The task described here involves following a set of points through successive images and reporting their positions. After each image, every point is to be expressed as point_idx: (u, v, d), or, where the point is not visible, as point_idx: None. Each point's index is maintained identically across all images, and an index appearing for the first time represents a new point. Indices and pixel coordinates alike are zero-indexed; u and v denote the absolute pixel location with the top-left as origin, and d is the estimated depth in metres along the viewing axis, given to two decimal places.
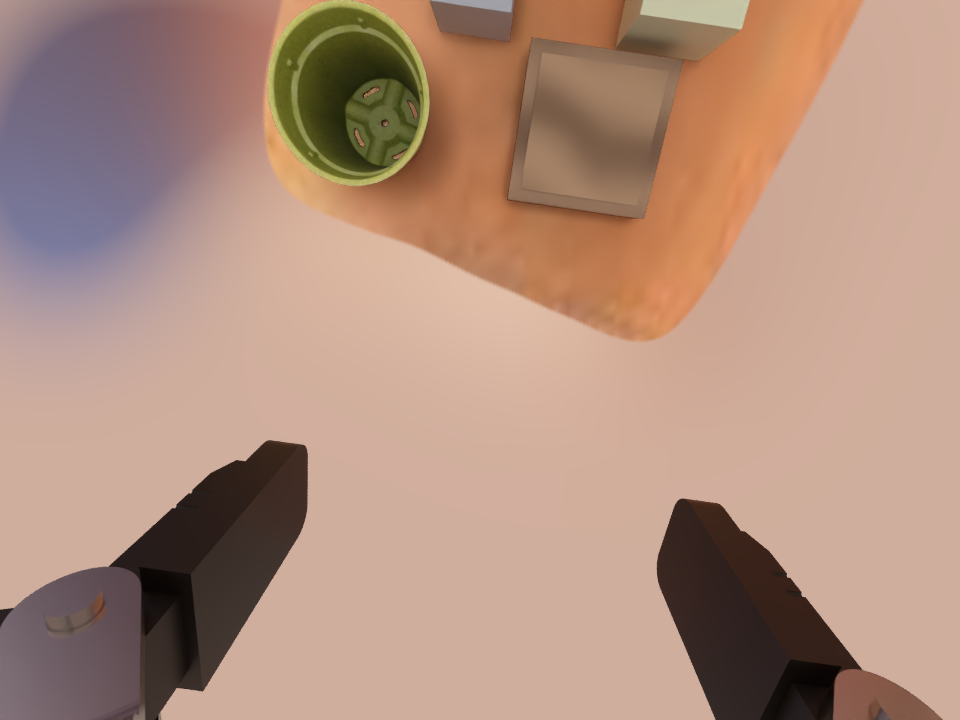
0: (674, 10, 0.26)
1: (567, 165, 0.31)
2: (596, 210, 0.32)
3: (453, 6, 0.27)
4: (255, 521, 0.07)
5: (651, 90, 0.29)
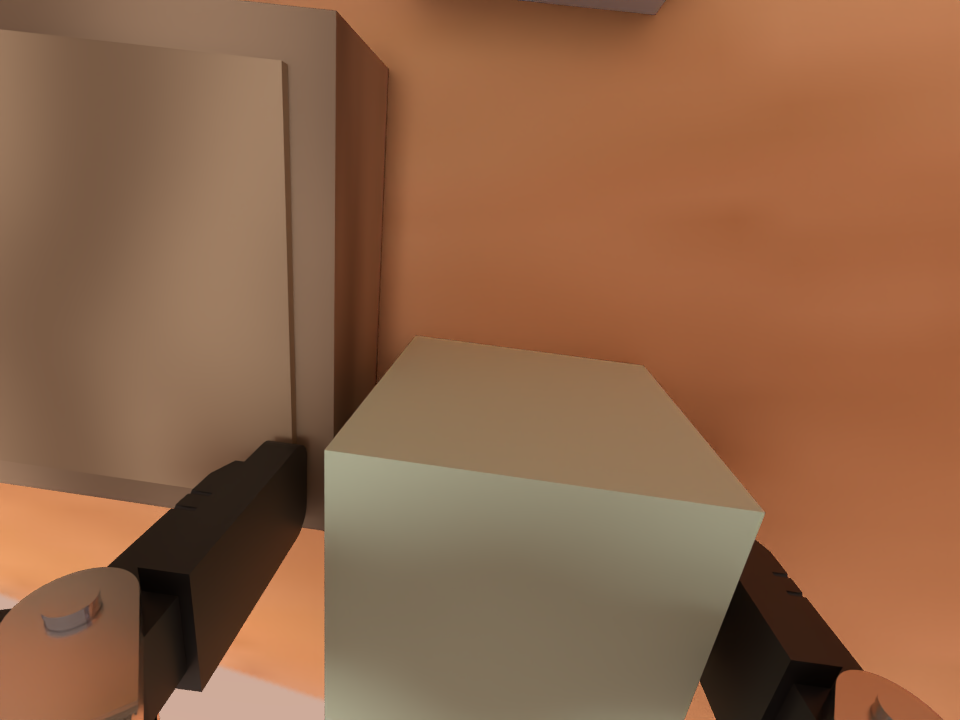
0: (352, 563, 0.07)
1: None
2: None
3: None
4: (254, 521, 0.07)
5: None
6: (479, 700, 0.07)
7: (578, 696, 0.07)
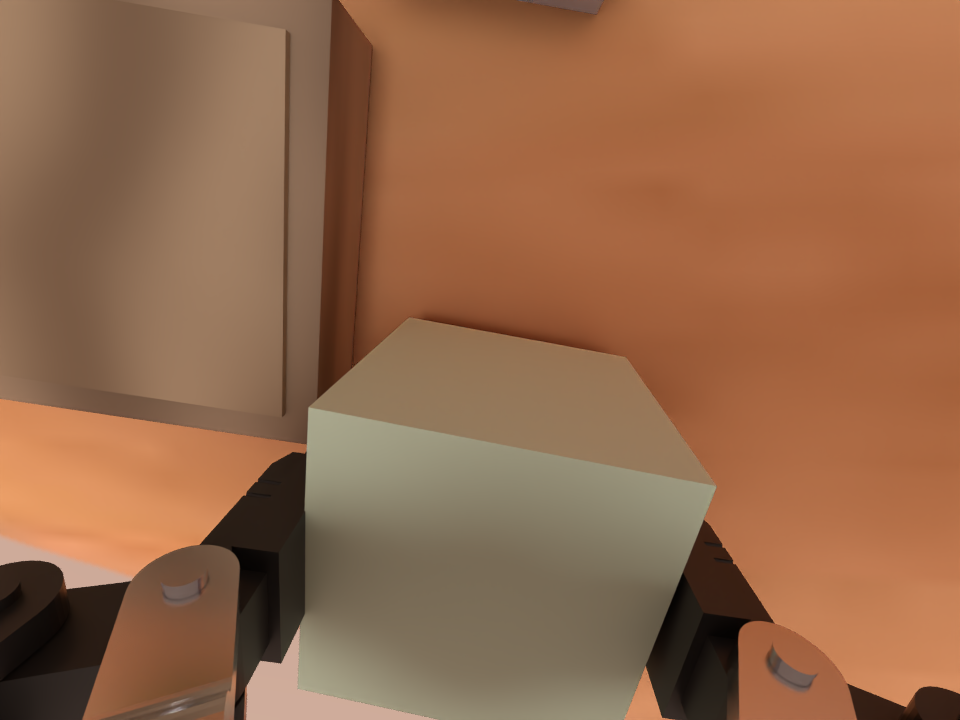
0: (330, 519, 0.07)
1: None
2: None
3: None
4: None
5: (233, 379, 0.11)
6: (444, 657, 0.08)
7: (538, 658, 0.08)
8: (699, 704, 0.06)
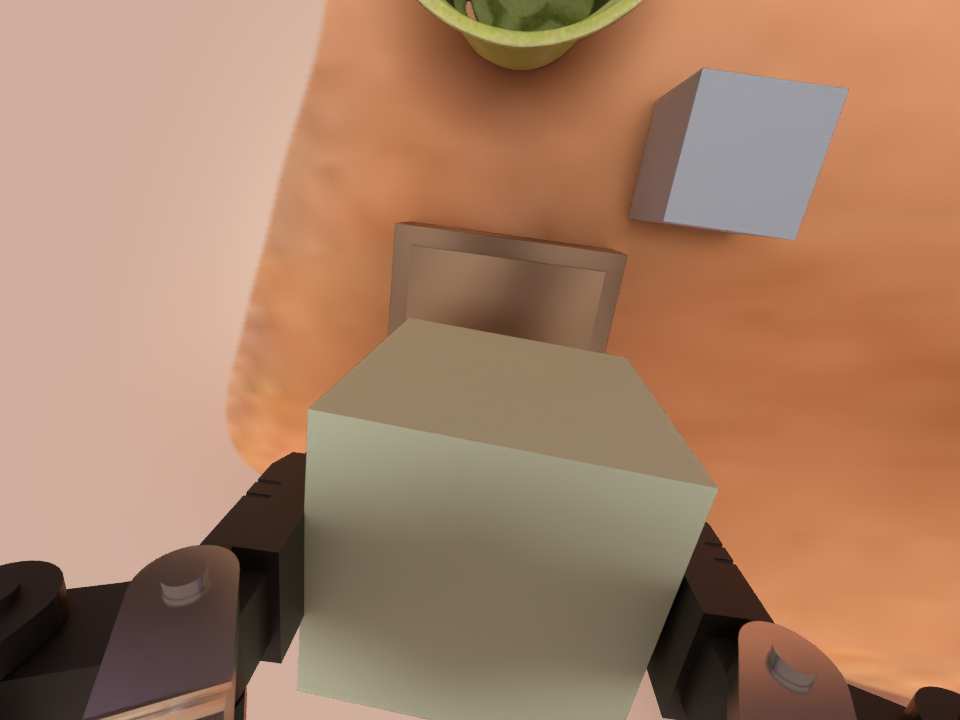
0: (329, 520, 0.07)
1: (449, 319, 0.20)
2: None
3: (686, 117, 0.16)
4: None
5: None
6: (444, 659, 0.08)
7: (538, 661, 0.08)
8: (699, 704, 0.06)
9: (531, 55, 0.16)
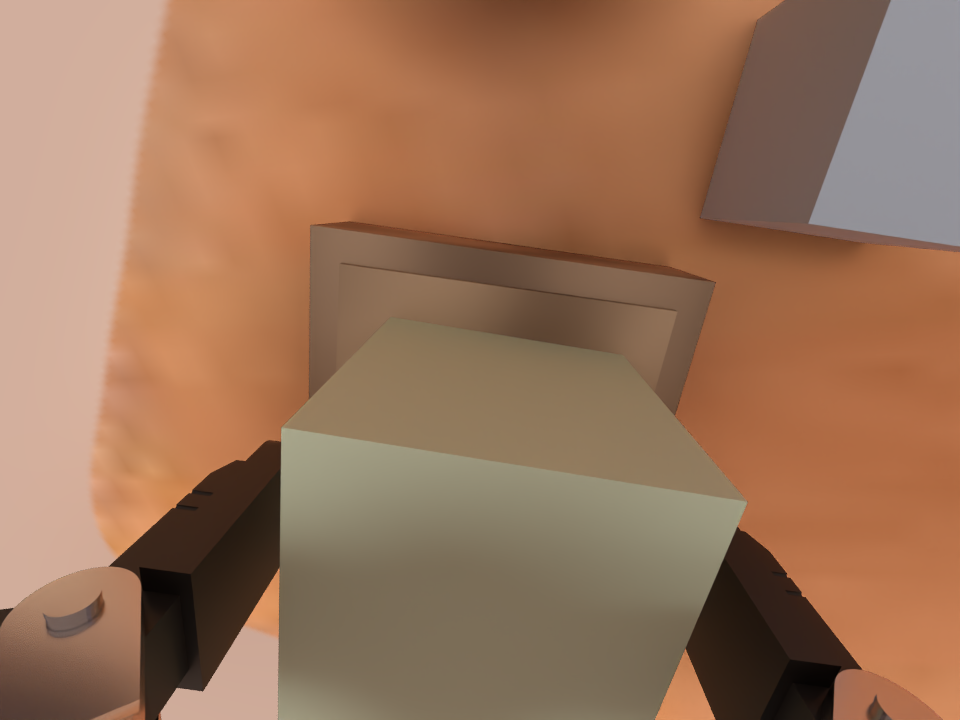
0: (309, 552, 0.06)
1: None
2: None
3: (873, 11, 0.08)
4: (255, 521, 0.07)
5: None
6: (444, 697, 0.07)
7: (548, 693, 0.07)
8: None
9: None
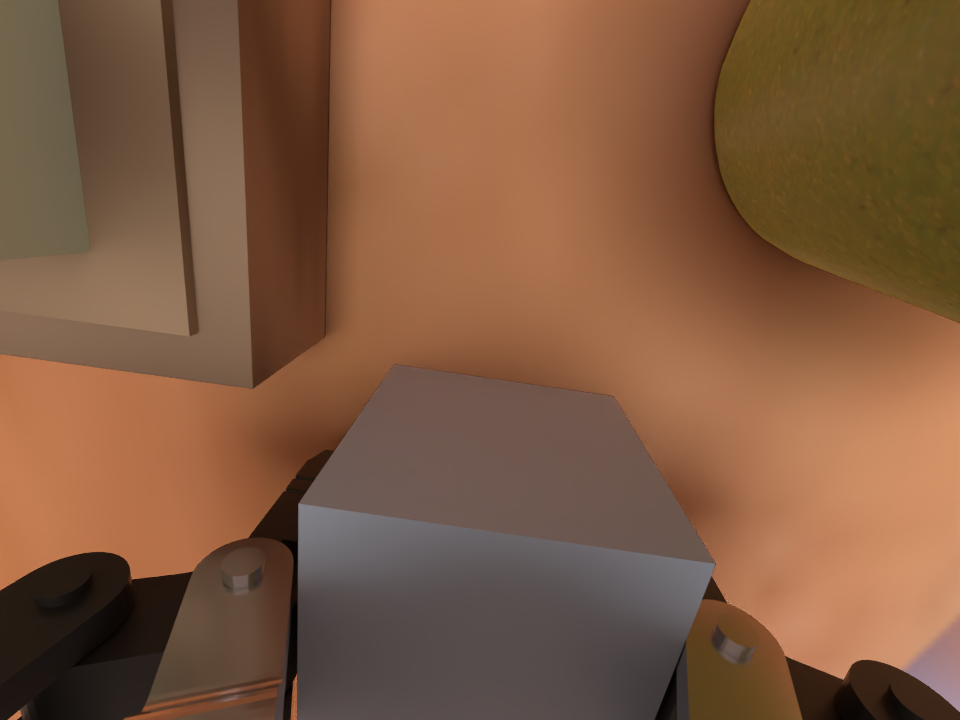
0: None
1: None
2: None
3: (591, 528, 0.06)
4: None
5: None
6: None
7: None
8: None
9: (823, 35, 0.05)
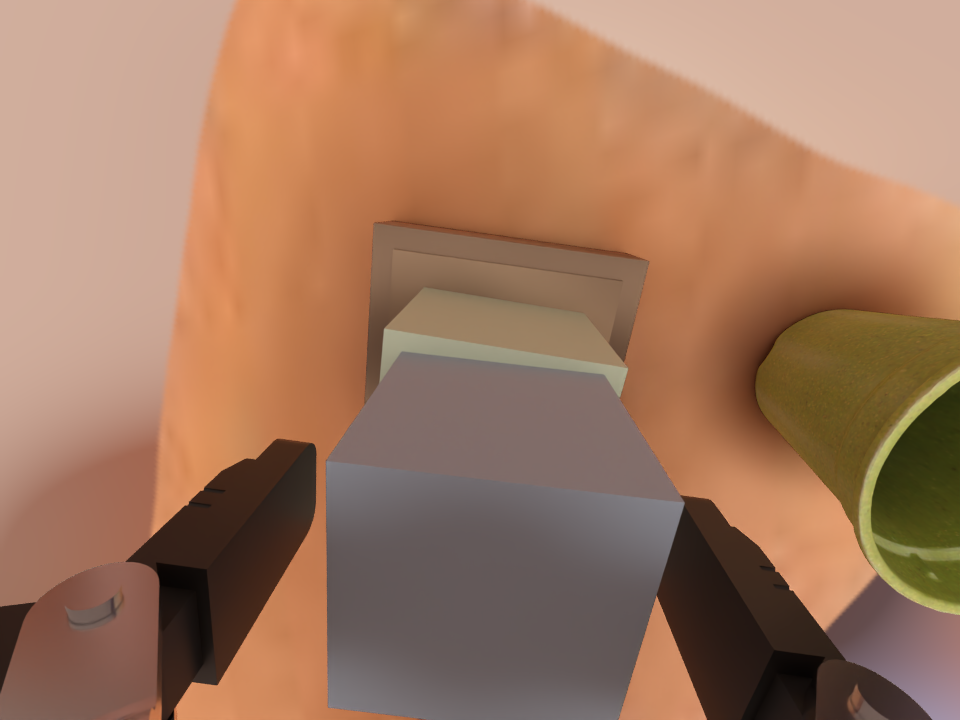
0: None
1: None
2: (470, 239, 0.16)
3: (577, 477, 0.06)
4: (267, 518, 0.07)
5: None
6: None
7: None
8: None
9: (793, 412, 0.17)
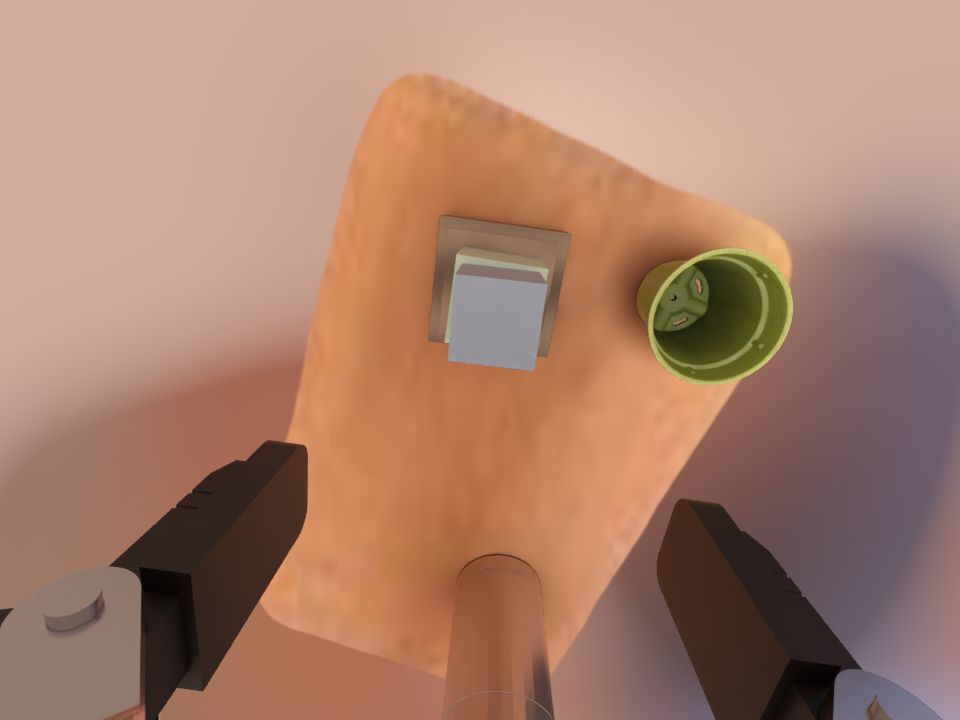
0: None
1: None
2: (486, 223, 0.34)
3: (520, 280, 0.24)
4: (255, 521, 0.07)
5: None
6: None
7: None
8: None
9: (643, 308, 0.35)
